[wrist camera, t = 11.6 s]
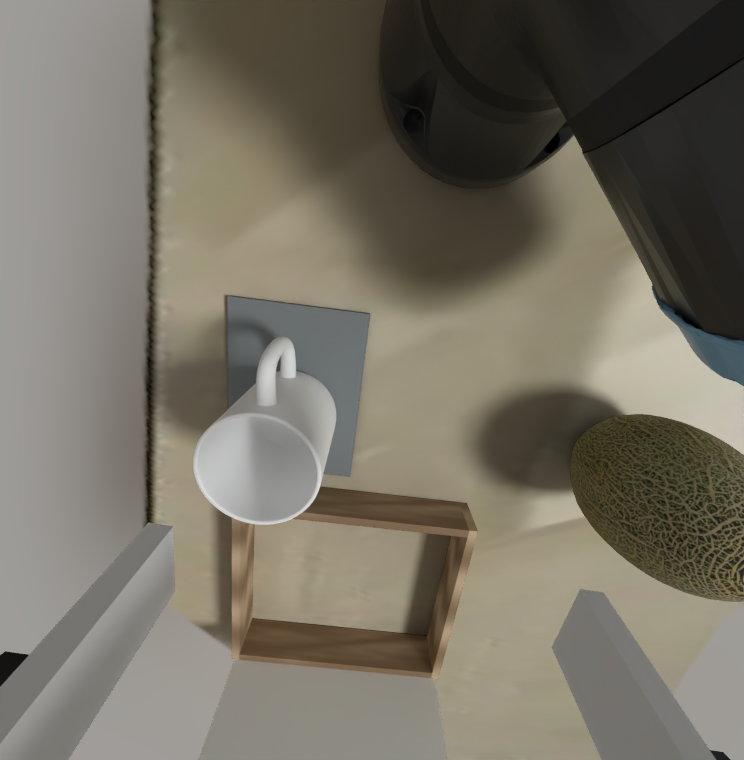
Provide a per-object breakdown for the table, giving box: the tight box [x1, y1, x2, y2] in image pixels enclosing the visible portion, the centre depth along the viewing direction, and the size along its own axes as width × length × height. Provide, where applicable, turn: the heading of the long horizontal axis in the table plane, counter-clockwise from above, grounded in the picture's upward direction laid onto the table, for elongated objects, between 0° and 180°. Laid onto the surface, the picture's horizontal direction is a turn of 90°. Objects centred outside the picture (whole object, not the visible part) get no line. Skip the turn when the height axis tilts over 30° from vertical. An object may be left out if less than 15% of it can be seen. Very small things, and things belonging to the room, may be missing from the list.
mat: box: [228, 296, 370, 477], centre depth 31 cm, size 16×12×1 cm
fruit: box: [570, 414, 744, 602], centre depth 26 cm, size 11×11×15 cm
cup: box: [193, 336, 336, 525], centre depth 26 cm, size 8×12×10 cm
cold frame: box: [232, 487, 478, 679], centre depth 36 cm, size 20×23×4 cm
